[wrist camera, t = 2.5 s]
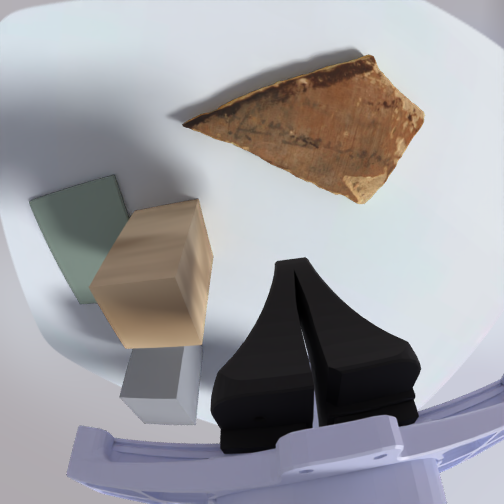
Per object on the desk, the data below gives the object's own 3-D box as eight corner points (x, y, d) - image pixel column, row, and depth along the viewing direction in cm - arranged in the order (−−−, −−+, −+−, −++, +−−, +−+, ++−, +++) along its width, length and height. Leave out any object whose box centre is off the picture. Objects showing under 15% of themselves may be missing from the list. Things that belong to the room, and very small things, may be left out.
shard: (186, 120, 15) (180, 127, 14) (250, -4, 11) (250, -12, 10) (356, 201, 18) (366, 214, 16) (421, 98, 14) (437, 103, 13)
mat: (159, 294, 21) (158, 297, 21) (81, 301, 21) (80, 304, 21) (114, 174, 16) (112, 176, 16) (31, 200, 16) (28, 202, 16)
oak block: (213, 256, 19) (201, 345, 14) (154, 264, 20) (125, 348, 14) (198, 198, 17) (175, 277, 11) (134, 210, 17) (88, 287, 12)
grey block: (203, 349, 25) (195, 425, 19) (158, 352, 25) (144, 423, 19) (189, 316, 22) (176, 398, 16) (141, 320, 23) (119, 397, 17)
